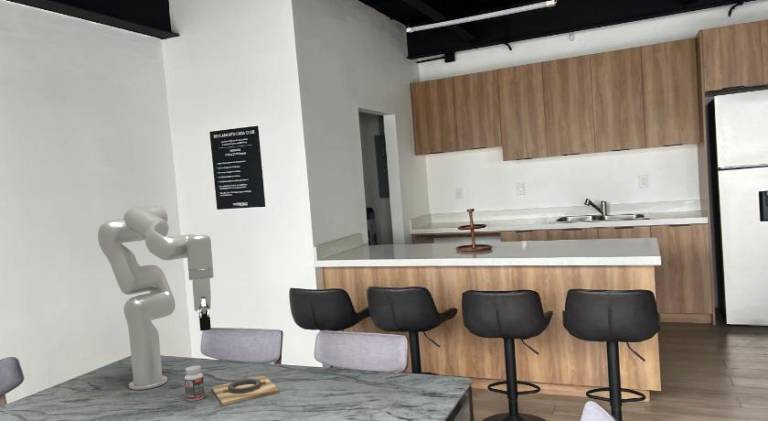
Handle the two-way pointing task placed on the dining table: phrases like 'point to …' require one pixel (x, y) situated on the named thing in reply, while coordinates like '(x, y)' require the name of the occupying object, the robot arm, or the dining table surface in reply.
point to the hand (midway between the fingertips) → (205, 326)
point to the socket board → (244, 390)
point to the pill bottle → (194, 383)
